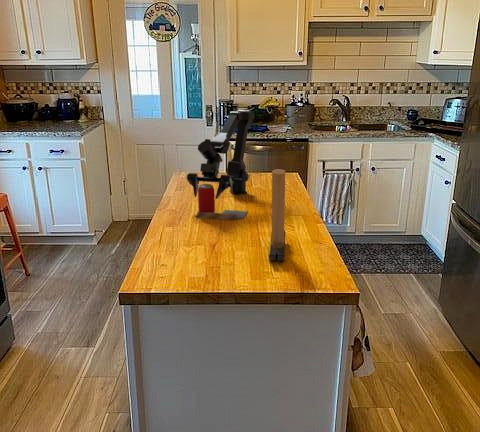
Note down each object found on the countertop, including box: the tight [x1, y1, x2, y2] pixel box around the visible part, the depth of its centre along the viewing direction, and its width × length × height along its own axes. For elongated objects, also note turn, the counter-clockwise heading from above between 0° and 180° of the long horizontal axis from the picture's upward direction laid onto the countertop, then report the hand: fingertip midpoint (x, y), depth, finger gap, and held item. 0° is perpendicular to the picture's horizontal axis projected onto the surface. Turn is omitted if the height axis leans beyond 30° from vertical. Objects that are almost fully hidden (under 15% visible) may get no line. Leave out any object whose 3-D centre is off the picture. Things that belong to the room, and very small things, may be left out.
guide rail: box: [196, 211, 237, 221], centre depth 193 cm, size 16×2×2 cm, turn 77°
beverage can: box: [197, 183, 216, 213], centre depth 198 cm, size 7×7×12 cm
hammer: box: [268, 168, 286, 262], centre depth 154 cm, size 20×5×30 cm, turn 174°
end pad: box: [222, 209, 249, 220], centre depth 198 cm, size 10×9×1 cm
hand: (205, 197), depth 197 cm, fingers open, 9 cm apart
